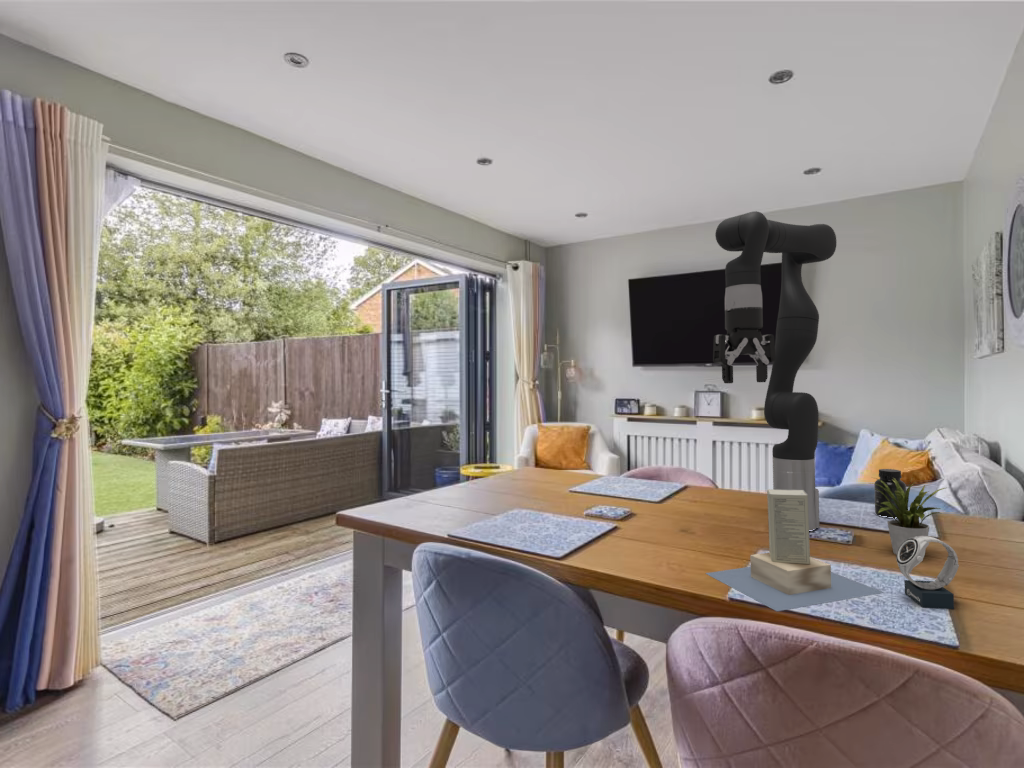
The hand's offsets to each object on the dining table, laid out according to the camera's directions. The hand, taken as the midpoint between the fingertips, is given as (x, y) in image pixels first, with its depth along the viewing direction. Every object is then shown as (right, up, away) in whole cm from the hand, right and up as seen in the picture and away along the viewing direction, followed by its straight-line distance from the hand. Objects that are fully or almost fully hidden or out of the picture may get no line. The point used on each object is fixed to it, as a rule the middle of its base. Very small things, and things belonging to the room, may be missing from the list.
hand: (745, 382), depth 119 cm
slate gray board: (-1, -36, -21) cm, 42 cm away
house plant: (+30, -36, -5) cm, 47 cm away
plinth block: (-1, -36, -21) cm, 41 cm away
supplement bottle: (+49, -35, +25) cm, 65 cm away
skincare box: (-1, -32, -21) cm, 38 cm away
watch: (+16, -36, -31) cm, 50 cm away
